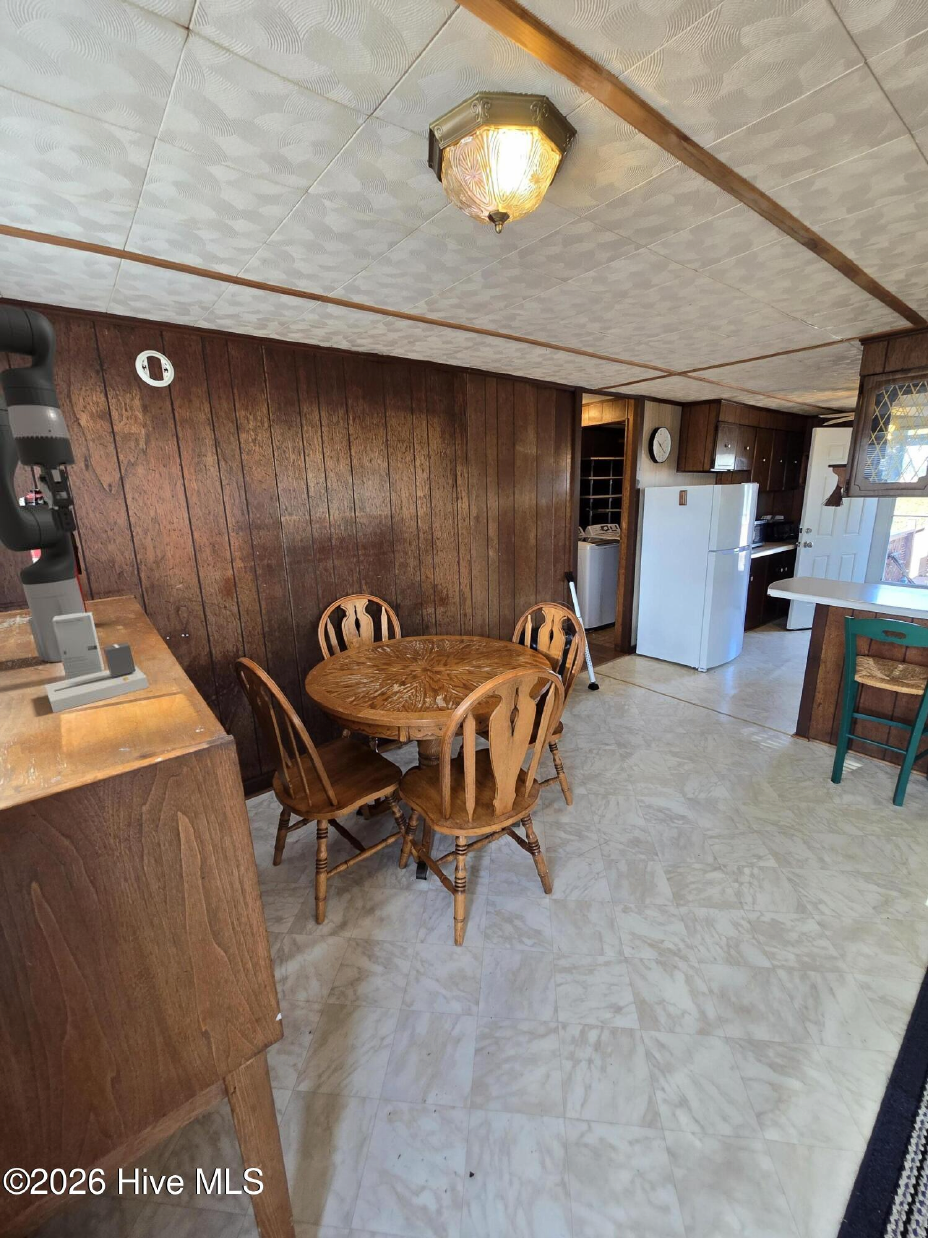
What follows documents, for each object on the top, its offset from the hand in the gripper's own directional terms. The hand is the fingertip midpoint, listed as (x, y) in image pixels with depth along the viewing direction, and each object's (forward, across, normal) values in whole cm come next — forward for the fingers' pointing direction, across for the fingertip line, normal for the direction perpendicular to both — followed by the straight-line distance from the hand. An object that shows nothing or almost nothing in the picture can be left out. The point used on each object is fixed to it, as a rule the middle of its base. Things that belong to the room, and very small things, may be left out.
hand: (66, 531), depth 89 cm
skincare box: (+28, +5, +2) cm, 29 cm away
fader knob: (+26, -9, -2) cm, 27 cm away
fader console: (+28, -9, +2) cm, 30 cm away
